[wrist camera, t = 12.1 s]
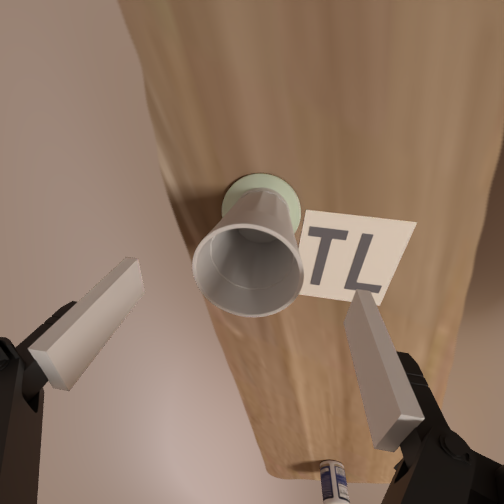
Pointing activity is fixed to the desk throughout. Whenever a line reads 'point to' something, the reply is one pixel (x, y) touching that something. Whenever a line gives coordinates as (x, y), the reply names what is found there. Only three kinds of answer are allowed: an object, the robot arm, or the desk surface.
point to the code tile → (350, 254)
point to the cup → (251, 257)
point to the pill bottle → (333, 483)
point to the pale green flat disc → (267, 182)
